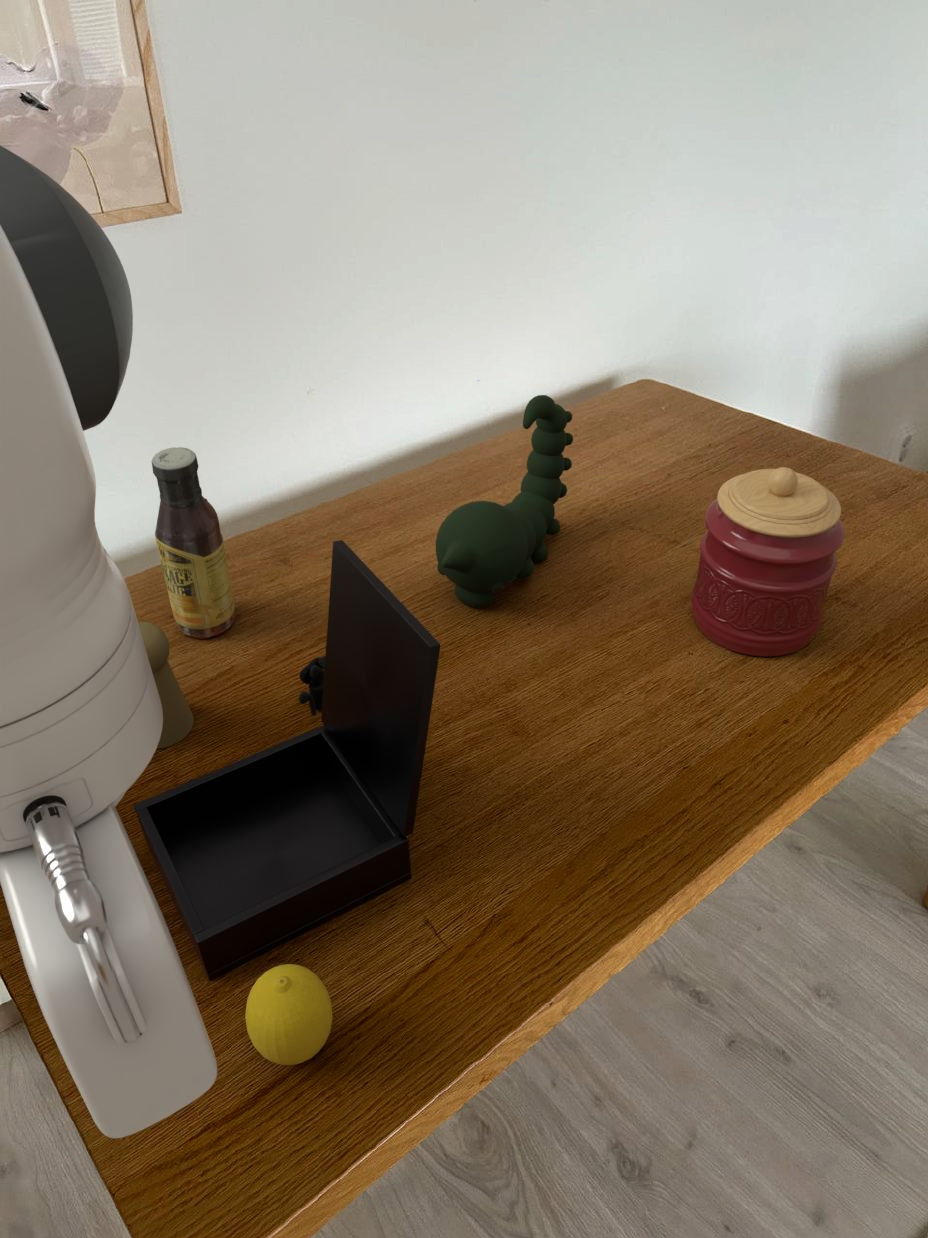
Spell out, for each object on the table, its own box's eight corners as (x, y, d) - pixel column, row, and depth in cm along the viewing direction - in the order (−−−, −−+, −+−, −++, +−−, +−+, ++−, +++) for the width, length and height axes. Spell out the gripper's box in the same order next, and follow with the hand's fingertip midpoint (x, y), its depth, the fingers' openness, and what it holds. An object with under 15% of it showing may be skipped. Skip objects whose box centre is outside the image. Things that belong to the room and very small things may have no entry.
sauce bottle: (165, 622, 102) (121, 454, 90) (217, 597, 106) (181, 431, 93) (198, 652, 99) (156, 480, 86) (251, 625, 102) (218, 456, 89)
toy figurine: (513, 523, 119) (402, 621, 101) (523, 372, 108) (401, 451, 90) (584, 544, 115) (482, 649, 97) (601, 390, 105) (491, 476, 87)
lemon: (275, 1103, 63) (257, 1039, 58) (243, 1034, 67) (223, 968, 62) (352, 1058, 65) (340, 993, 60) (316, 994, 69) (303, 927, 64)
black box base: (209, 982, 70) (197, 943, 67) (146, 843, 80) (133, 804, 77) (412, 878, 77) (408, 839, 74) (331, 762, 86) (325, 723, 83)
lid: (430, 646, 64) (441, 644, 64) (332, 541, 73) (342, 539, 74) (404, 837, 73) (413, 834, 74) (320, 721, 83) (329, 718, 83)
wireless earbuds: (309, 728, 90) (302, 687, 87) (287, 718, 91) (280, 678, 88) (354, 683, 95) (349, 643, 91) (333, 674, 96) (327, 634, 92)
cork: (132, 757, 87) (102, 664, 80) (122, 714, 92) (92, 622, 85) (200, 736, 89) (176, 644, 82) (186, 695, 94) (162, 604, 87)
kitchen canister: (719, 668, 95) (750, 515, 84) (670, 590, 105) (692, 444, 94) (842, 649, 97) (887, 496, 86) (783, 574, 107) (816, 429, 96)
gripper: (226, 904, 24) (294, 1149, 33) (35, 526, 38) (119, 769, 47) (-41, 1033, 22) (108, 1262, 31) (-143, 578, 36) (-20, 825, 44)
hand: (113, 960), depth 39 cm, fingers open, 3 cm apart
